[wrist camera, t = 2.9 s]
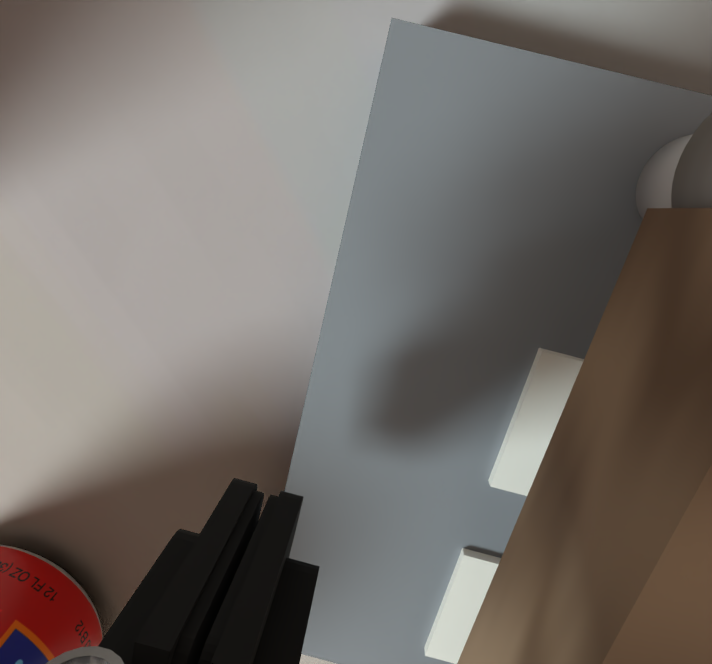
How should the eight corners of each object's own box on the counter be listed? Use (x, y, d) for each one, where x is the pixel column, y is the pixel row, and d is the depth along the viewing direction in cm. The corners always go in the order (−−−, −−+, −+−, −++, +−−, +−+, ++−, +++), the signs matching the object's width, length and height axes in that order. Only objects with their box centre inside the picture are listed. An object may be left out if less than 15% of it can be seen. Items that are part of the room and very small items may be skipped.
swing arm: (713, 49, 8) (1025, -107, 4) (935, 103, 8) (1474, -5, 4) (413, 768, 13) (420, 994, 9) (540, 803, 13) (600, 1045, 9)
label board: (392, 48, 12) (390, -33, 8) (962, 187, 12) (1254, 175, 8) (266, 593, 18) (228, 705, 14) (650, 696, 17) (726, 842, 13)
